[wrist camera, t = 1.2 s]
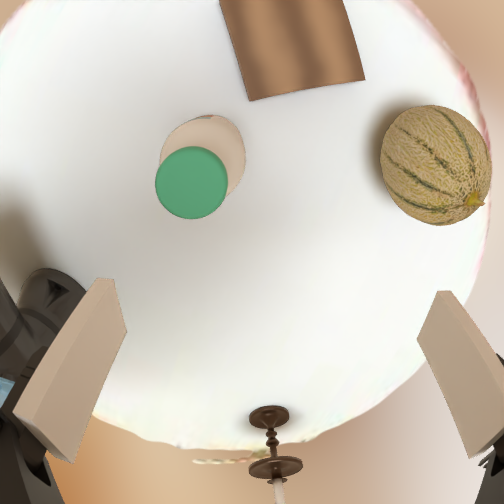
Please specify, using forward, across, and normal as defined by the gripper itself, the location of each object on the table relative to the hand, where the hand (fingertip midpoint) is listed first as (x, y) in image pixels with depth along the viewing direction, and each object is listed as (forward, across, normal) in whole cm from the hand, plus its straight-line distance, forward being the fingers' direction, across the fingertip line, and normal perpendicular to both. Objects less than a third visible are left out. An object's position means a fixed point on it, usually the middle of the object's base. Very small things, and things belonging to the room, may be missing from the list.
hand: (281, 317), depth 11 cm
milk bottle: (+29, +7, -2) cm, 30 cm away
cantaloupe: (+31, -20, -3) cm, 37 cm away
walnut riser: (+30, -2, -16) cm, 34 cm away
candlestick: (+28, -4, +54) cm, 61 cm away
